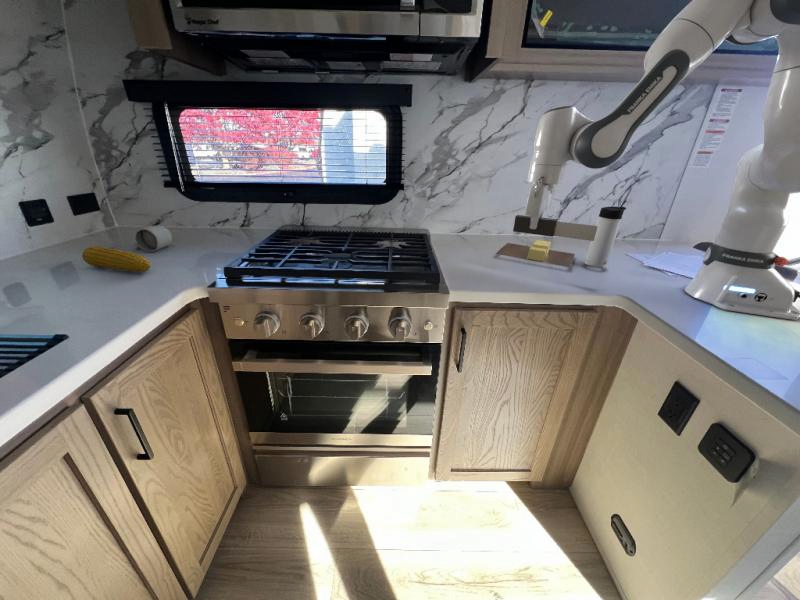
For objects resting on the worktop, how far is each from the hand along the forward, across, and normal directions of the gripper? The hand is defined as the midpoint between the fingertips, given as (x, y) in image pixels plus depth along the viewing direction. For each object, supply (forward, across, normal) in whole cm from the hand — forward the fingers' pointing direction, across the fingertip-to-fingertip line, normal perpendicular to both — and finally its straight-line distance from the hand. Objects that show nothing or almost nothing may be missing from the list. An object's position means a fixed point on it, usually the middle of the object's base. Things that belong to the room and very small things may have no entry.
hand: (534, 227), depth 95 cm
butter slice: (+13, +14, 0) cm, 19 cm away
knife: (+2, 0, -5) cm, 5 cm away
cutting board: (+15, +20, +1) cm, 25 cm away
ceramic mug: (+15, -50, +112) cm, 124 cm away
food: (+15, -64, +99) cm, 119 cm away
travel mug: (+15, +21, -18) cm, 32 cm away
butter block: (+13, +23, 0) cm, 26 cm away
